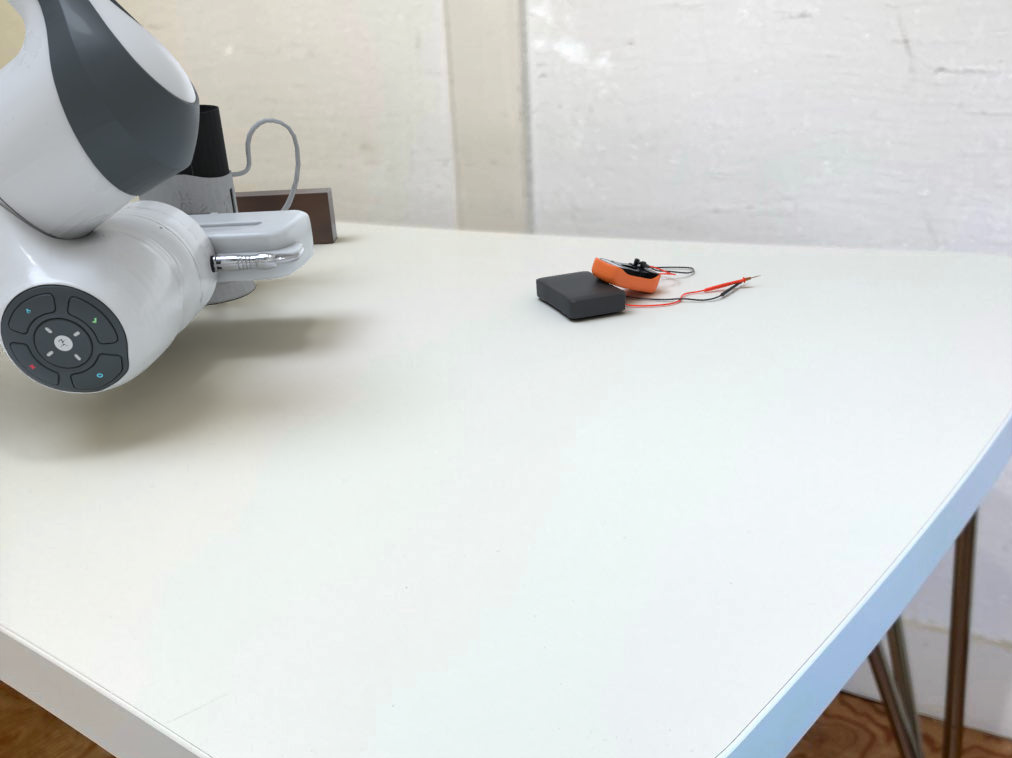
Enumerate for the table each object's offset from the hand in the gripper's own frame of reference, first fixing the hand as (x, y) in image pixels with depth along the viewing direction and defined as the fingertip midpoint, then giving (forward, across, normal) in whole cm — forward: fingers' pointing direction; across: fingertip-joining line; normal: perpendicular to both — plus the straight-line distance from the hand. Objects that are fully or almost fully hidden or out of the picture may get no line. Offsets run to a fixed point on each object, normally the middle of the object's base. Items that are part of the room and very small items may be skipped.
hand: (202, 223), depth 87 cm
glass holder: (+5, 0, +7) cm, 8 cm away
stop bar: (+21, 0, +7) cm, 22 cm away
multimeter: (-1, -36, +7) cm, 37 cm away
